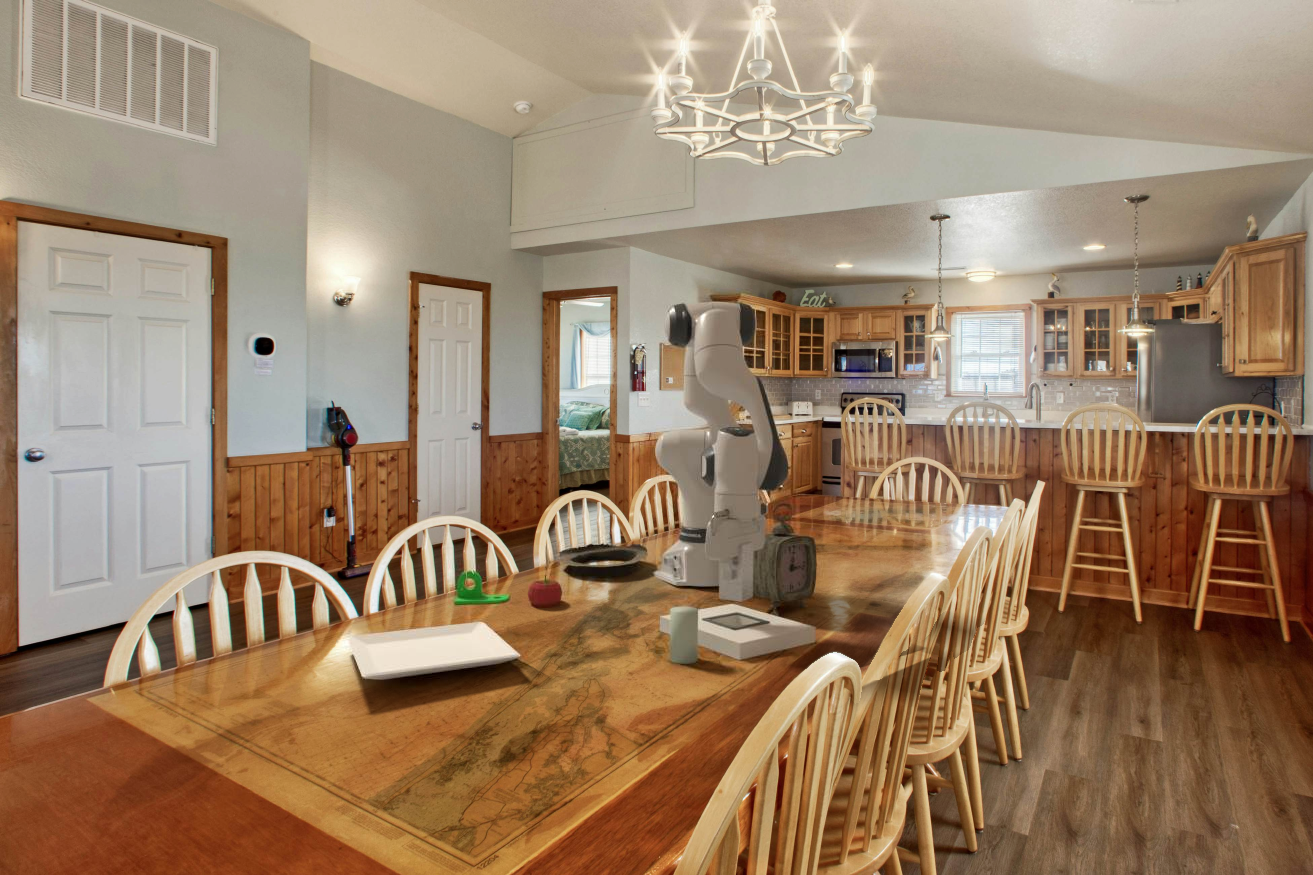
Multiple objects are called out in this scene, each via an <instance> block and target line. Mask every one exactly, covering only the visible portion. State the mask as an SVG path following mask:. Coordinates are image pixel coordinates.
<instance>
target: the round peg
mask: <svg viewBox="0 0 1313 875" xmlns="http://www.w3.org/2000/svg"><path fill="white" fill-rule="evenodd" d="M698 610H699V608H697V607H693V606H674V607H671V608H670V610H669V615H670V635H669V661H670V662H672V663H675V664H681V665H688V664H689V665H691V664H694V663H696V662H698V660H699V659H698V658H699V657H698V655H699V652H698V651H699V645H698Z"/></svg>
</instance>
